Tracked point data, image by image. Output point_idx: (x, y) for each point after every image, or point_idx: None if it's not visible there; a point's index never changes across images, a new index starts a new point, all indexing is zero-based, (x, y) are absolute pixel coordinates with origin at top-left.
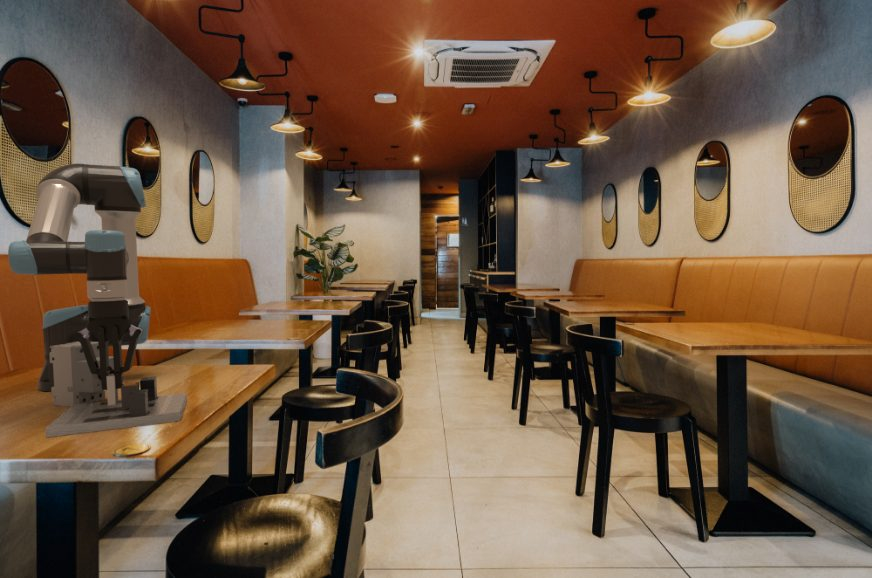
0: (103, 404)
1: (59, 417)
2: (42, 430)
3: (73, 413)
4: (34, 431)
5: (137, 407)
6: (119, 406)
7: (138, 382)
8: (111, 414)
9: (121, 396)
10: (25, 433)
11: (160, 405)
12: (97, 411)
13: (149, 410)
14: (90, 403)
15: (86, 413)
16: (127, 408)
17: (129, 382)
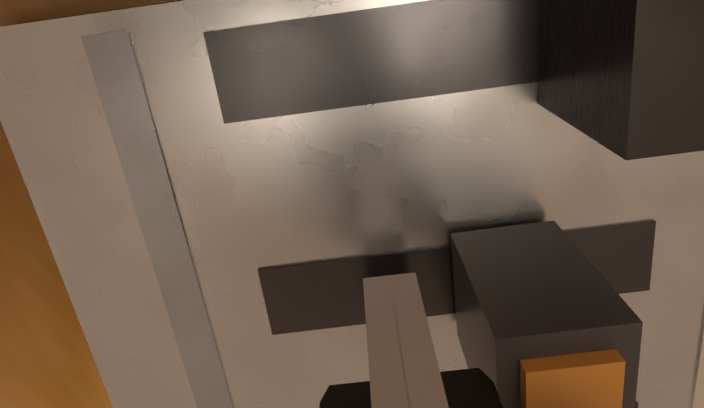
0: (253, 119)
1: (106, 364)
2: (69, 364)
3: (145, 301)
4: (35, 369)
5: None
6: (405, 216)
7: (638, 344)
8: None
9: None
10: (9, 388)
11: (692, 279)
12: (297, 311)
13: None
14: (116, 44)
15: (239, 327)
16: None
17: (566, 405)
